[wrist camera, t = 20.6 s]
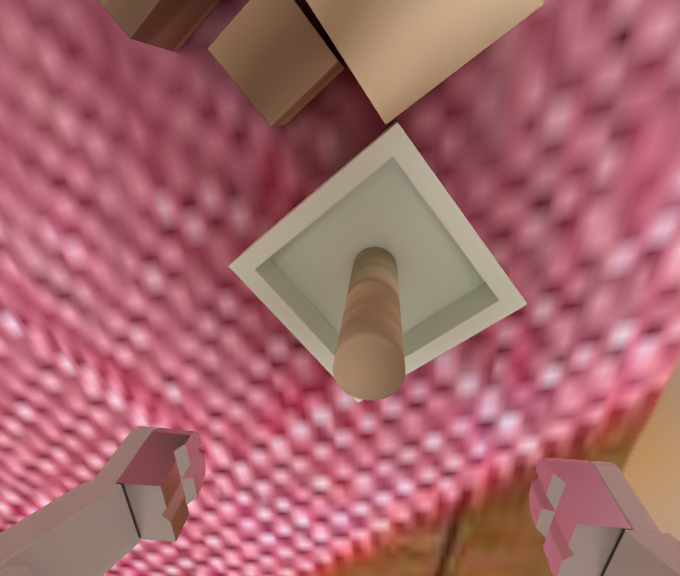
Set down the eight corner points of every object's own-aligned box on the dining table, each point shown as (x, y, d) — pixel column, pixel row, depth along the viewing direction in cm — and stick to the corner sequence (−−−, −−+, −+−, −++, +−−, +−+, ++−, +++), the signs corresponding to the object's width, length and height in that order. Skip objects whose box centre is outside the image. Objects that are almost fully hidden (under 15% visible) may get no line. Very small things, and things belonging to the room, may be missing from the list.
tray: (246, 247, 24) (228, 266, 21) (395, 121, 20) (397, 122, 17) (360, 372, 26) (358, 402, 24) (509, 280, 23) (527, 304, 20)
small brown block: (232, 57, 20) (207, 48, 17) (290, -7, 18) (273, -28, 16) (285, 124, 21) (270, 126, 18) (344, 68, 19) (338, 61, 17)
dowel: (352, 286, 23) (333, 397, 14) (353, 246, 22) (332, 338, 13) (395, 288, 23) (402, 402, 14) (398, 247, 22) (408, 342, 13)
